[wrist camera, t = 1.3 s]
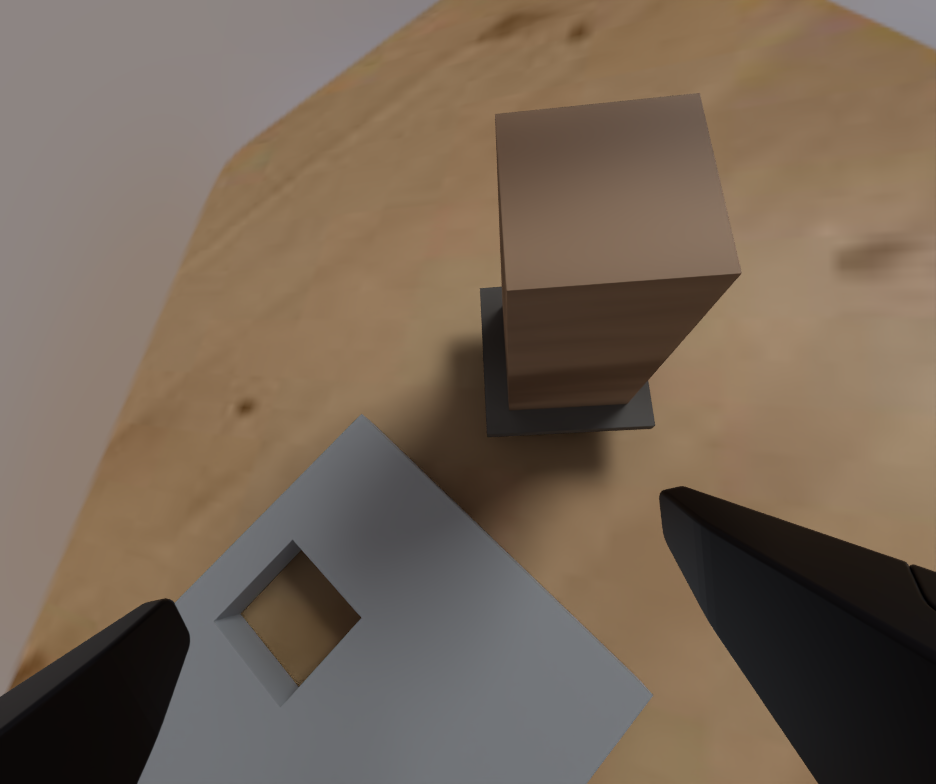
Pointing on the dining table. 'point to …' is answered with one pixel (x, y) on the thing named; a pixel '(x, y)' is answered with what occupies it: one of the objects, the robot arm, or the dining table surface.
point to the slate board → (390, 649)
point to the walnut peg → (599, 260)
